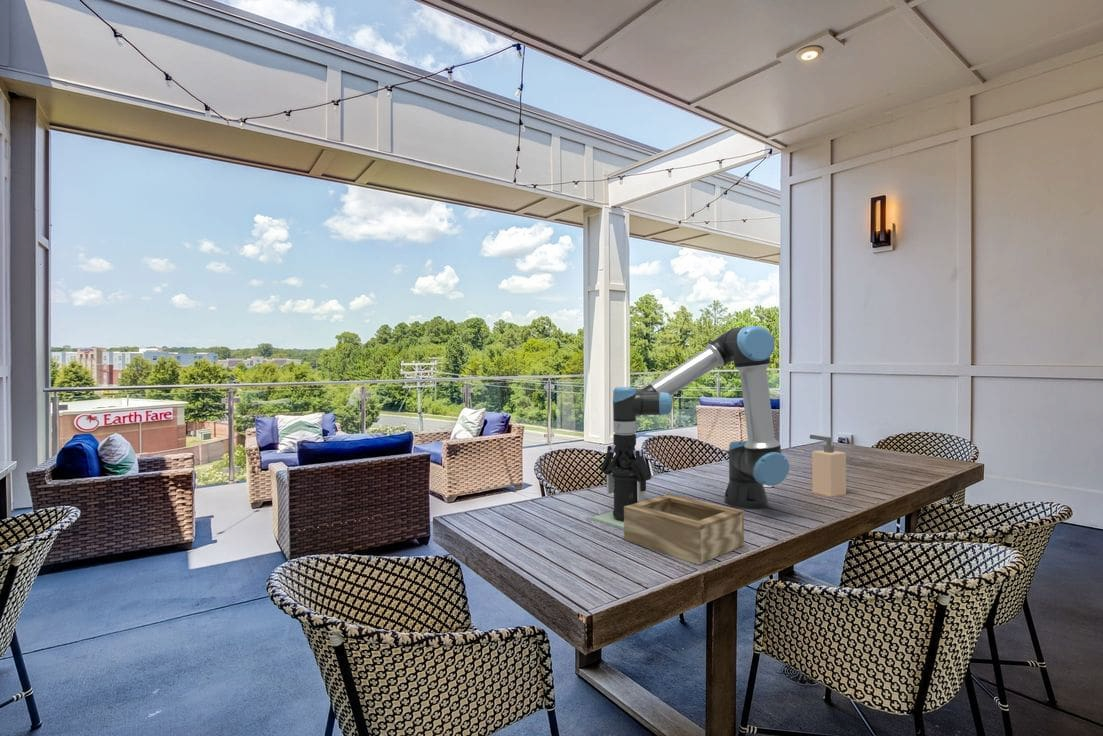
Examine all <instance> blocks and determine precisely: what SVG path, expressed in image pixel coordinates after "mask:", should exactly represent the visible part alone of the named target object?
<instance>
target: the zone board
mask: <svg viewBox="0 0 1103 736" xmlns="http://www.w3.org/2000/svg"><path fill="white" fill-rule="evenodd" d="M591 521H595V522H599V523H601V524H605V525H607V524H608V525H607V526H610V527H614V528H617V529H620V530H623V531H624V521H621V520H617V519H616V518H615V517H614V516H613V511H609V512H605V513H601V514H598V515H594V516H592V517H591Z"/></svg>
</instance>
